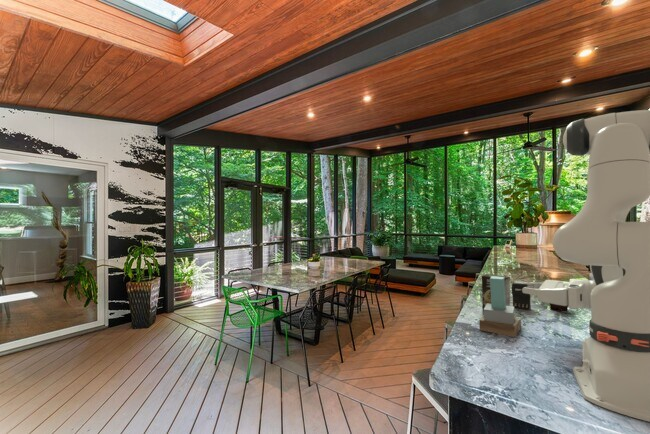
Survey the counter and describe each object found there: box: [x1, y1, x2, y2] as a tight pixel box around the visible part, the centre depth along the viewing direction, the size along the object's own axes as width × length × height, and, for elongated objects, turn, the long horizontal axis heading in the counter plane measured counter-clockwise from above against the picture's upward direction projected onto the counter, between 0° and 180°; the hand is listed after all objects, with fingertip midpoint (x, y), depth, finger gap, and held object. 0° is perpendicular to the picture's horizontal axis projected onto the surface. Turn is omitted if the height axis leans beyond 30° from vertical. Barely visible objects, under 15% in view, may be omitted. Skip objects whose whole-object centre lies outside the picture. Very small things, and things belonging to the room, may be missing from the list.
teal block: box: [490, 276, 506, 310], centre depth 109 cm, size 4×4×11 cm
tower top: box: [483, 303, 516, 325], centre depth 109 cm, size 9×9×4 cm
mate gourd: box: [544, 272, 569, 312], centre depth 130 cm, size 8×8×15 cm
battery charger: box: [511, 281, 532, 310], centre depth 132 cm, size 7×4×11 cm, turn 47°
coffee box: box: [481, 273, 511, 315], centre depth 125 cm, size 9×6×16 cm
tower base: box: [478, 315, 522, 338], centre depth 109 cm, size 11×11×4 cm
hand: (525, 287), depth 104 cm, fingers open, 8 cm apart
